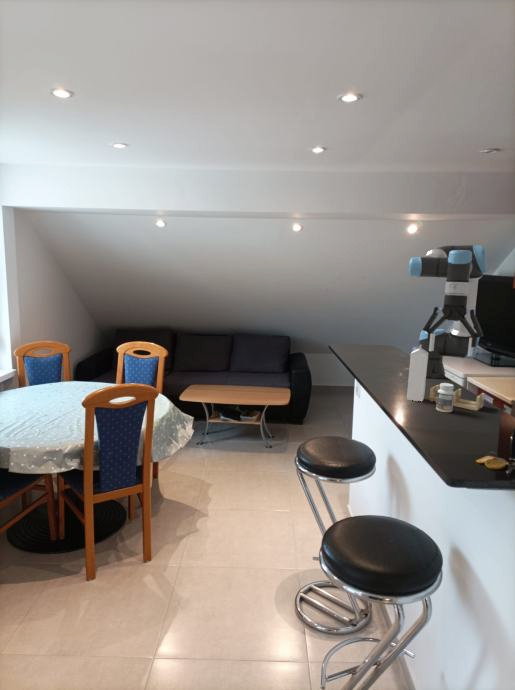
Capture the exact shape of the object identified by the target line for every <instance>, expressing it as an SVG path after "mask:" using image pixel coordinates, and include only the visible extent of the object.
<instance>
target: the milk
mask: <svg viewBox="0 0 515 690" xmlns="http://www.w3.org/2000/svg"><path fill="white" fill-rule="evenodd" d="M427 362H428V352H426V351H425V350H423V349H422V348H421V345H420V346H419V345H418V348H417V349H415V350H414V351H412V352H411V353H410V360H409V369H408V380H407V381H408V382H407V391H406V401H412V400H413V402H418V401H421V402H420V403H423V402H422V401H424V399H425V391H426V381H427V378H426V372H427Z"/></svg>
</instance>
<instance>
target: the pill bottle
mask: <svg viewBox="0 0 515 690" xmlns="http://www.w3.org/2000/svg"><path fill="white" fill-rule="evenodd" d="M453 401H454V384H452V383H449V382H441V383H440V384H439V390H438V392H437V402H435V403H436V405H435V410H437V411H438V412H442V413H451V412H453V409H454V406H453Z"/></svg>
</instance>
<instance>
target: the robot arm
mask: <svg viewBox="0 0 515 690" xmlns="http://www.w3.org/2000/svg"><path fill="white" fill-rule="evenodd" d="M487 258H488V256H487V249H486V247H485V246H483V245H475V244H474V245H473V244H472V245H471V244H469V245H460V244H459V245H450V244H449V245H442V246H439V247H436V248H433V249H430V250H429V251H428V252H427V253H426V255H424V256H413V257H411V258H410V260H409V265H408V274H409V276H410V277H414V278H415V277H417V278H446V280H445V288H444V293H445V295H444V299H443V307H440V306H435V307H434V308H433V312H432V314H431V315H430V317H429V318H428V321H427V322H426V323H425V325H424V326H423V328H422V330H421V332H420V334H419V338H418V340H419V341H418V347H419V346H420V345H421V348H422V349H423V350H425V351H426V352H428V362H427V372H426V377H435V378H434V379H443V378H445V377H446V371H445V366H444V361H443V358H444V357H449V358H460V359H469V360H470V359H471V360H472V359H473V358H475V357H476V356H475V355H476V353H477V349H478V346H479V342H480V338H481V337H484V333H483V330H482V328H481V325H480V322H479V320H478V317H477V309H476V305H477V295H478V287H479V286H478V285H479V280H480V279H481V278H482V277H483V275H484V274H485V273H487V270H488V265H487V264H488V261H487V260H488V259H487ZM441 312H442V314H443V315H442V316H441V317H440V318H439V319H438V320H437V321H436V322H435V320H436V319H437V317H438V315H439V314H440V313H441ZM446 321H453V326H452V328H451V329H450V330H449V332H447V331H446V329H444V328H439V327H440V326H441V325H443V324H444V322H446ZM434 322H435V323H434ZM441 377H442V378H441Z"/></svg>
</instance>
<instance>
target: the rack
mask: <svg viewBox="0 0 515 690" xmlns="http://www.w3.org/2000/svg"><path fill="white" fill-rule="evenodd" d="M439 389H440V384H436V385H433V386H432V387H430V390H429V399H428V401H429V400H430V401H429V402H433V401H435V403H437V392H438V390H439ZM453 391H454V390H453ZM461 394H462V389H461V388H459V389H457V390H455V391H454V401H453V407H457V408H463V409H466V410H467V409H468V410H471V411H479V410H480V409H482V408H483V407H484V402H485V393H484V392H483V393H480V394H479V395H477V396H476V401H473V400H469V399H462V398H461V396H462V395H461Z"/></svg>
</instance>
